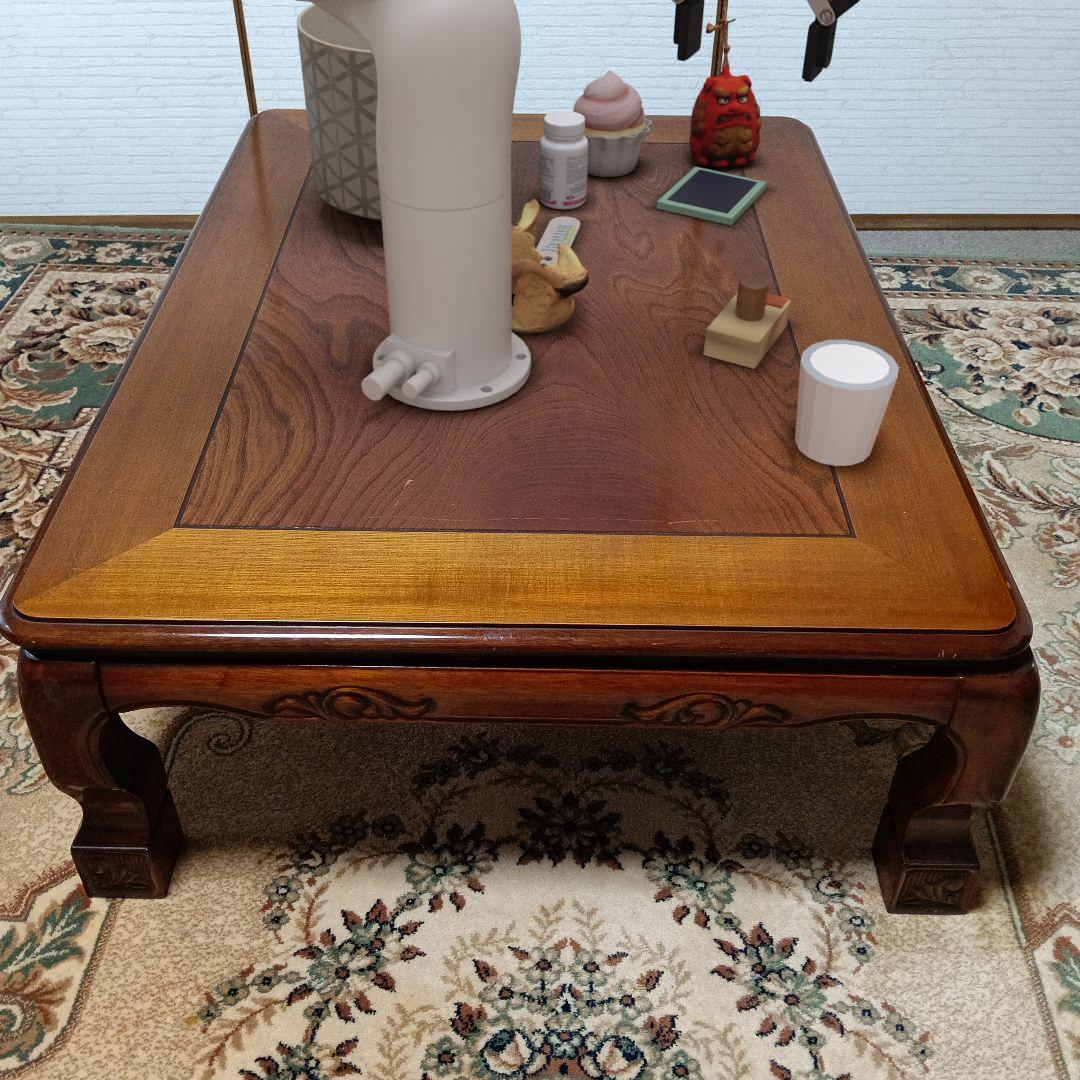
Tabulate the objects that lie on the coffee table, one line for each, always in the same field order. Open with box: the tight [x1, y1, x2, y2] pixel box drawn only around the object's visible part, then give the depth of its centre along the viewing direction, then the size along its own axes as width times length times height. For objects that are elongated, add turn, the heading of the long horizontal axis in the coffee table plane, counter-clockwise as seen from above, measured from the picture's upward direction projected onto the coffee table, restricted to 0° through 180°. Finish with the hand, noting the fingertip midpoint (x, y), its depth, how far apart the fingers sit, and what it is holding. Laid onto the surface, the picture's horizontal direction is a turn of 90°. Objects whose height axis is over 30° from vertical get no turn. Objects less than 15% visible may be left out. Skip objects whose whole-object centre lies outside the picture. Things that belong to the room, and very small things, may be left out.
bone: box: [511, 198, 590, 335], centre depth 102 cm, size 12×10×8 cm
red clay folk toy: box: [688, 6, 762, 169], centre depth 126 cm, size 8×7×15 cm
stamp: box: [702, 274, 792, 370], centre depth 99 cm, size 8×4×6 cm, turn 152°
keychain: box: [535, 215, 581, 266], centre depth 114 cm, size 10×1×3 cm
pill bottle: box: [538, 110, 588, 210], centre depth 119 cm, size 5×5×8 cm
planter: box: [296, 3, 382, 223], centre depth 114 cm, size 19×19×18 cm
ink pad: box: [656, 166, 768, 227], centre depth 122 cm, size 10×8×1 cm
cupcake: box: [572, 69, 653, 178], centre depth 125 cm, size 9×9×10 cm
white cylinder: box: [794, 339, 900, 467], centre depth 87 cm, size 7×7×7 cm
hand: (749, 65), depth 89 cm, fingers open, 9 cm apart
